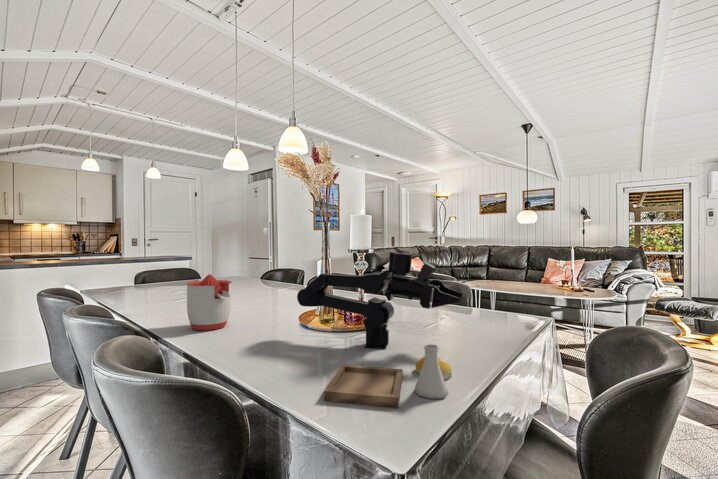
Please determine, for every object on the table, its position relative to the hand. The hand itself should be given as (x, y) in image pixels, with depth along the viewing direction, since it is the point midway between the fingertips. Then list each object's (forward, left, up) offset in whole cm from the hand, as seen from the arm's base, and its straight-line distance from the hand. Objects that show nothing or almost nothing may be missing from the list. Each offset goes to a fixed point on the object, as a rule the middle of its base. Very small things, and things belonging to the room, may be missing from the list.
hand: (461, 297), depth 96 cm
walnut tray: (-23, -26, -17) cm, 39 cm away
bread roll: (-8, -15, -17) cm, 24 cm away
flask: (-9, -25, -17) cm, 32 cm away
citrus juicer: (-89, +14, -17) cm, 92 cm away
